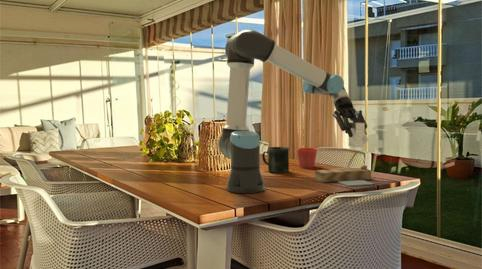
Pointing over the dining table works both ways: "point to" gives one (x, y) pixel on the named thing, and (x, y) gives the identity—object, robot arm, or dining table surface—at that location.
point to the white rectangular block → (357, 134)
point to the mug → (277, 159)
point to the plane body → (343, 174)
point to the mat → (355, 183)
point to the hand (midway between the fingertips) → (361, 141)
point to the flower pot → (306, 157)
